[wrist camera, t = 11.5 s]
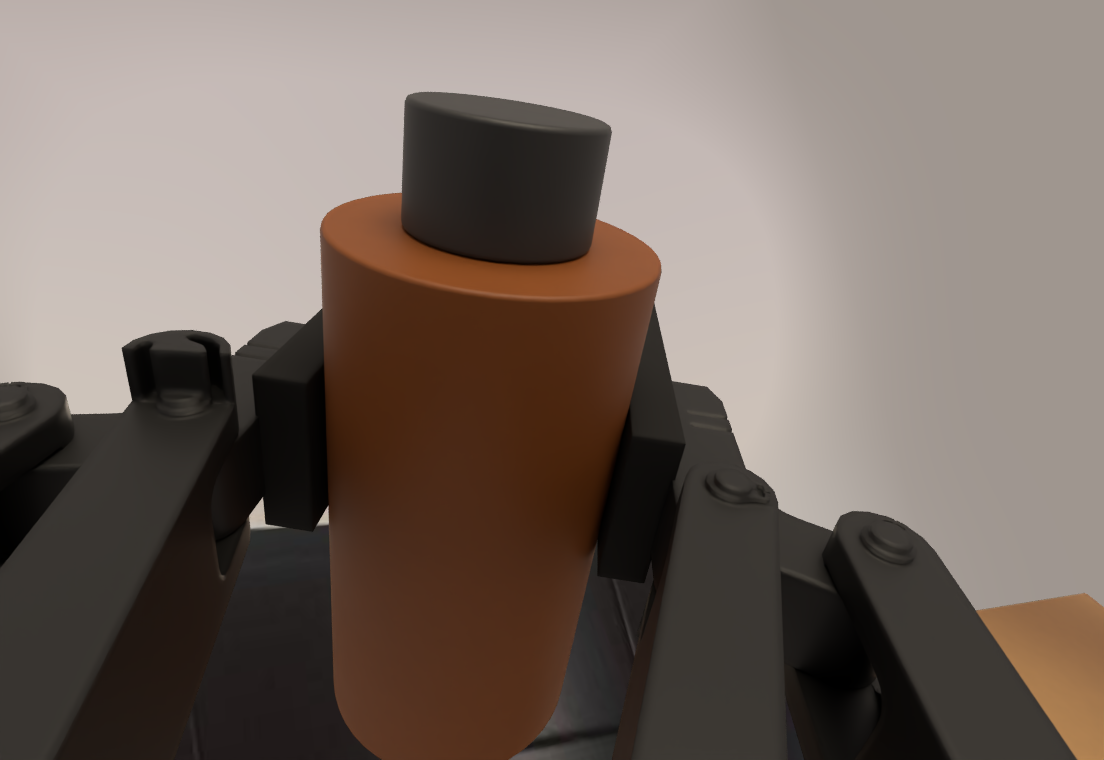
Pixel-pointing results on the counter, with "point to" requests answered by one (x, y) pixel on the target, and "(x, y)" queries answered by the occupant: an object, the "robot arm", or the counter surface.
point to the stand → (1059, 663)
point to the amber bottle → (473, 421)
